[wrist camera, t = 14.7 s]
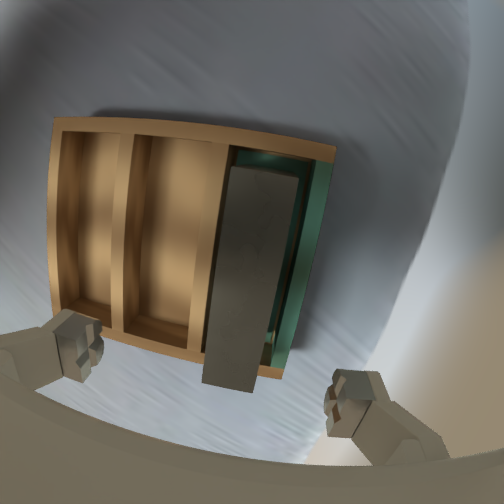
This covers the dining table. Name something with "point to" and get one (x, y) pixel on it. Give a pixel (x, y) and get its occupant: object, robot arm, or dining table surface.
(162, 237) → the rack
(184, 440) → the dining table surface
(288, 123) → the dining table surface
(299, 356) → the dining table surface
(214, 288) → the panel
